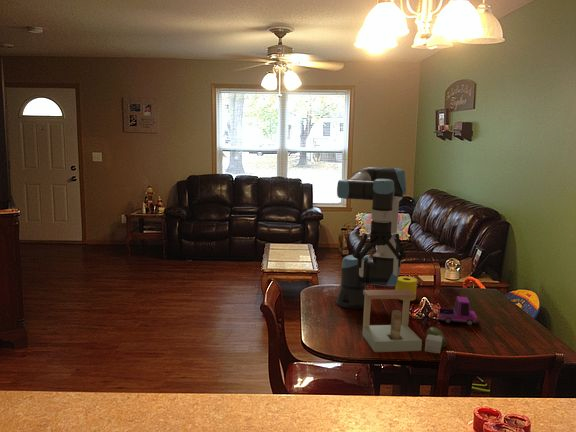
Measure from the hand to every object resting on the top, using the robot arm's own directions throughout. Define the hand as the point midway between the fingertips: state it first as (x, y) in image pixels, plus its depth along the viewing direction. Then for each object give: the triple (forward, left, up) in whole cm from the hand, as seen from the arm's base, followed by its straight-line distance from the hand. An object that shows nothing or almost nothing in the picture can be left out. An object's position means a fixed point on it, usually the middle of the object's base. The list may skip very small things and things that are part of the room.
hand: (378, 275), depth 197 cm
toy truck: (-19, +43, -27) cm, 54 cm away
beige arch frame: (-3, +6, -22) cm, 23 cm away
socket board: (+2, +6, -26) cm, 27 cm away
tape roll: (-51, +32, -27) cm, 66 cm away
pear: (+3, +24, -27) cm, 36 cm away
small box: (+9, +20, -27) cm, 35 cm away
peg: (+6, +6, -26) cm, 28 cm away
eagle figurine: (-14, +16, -27) cm, 34 cm away
